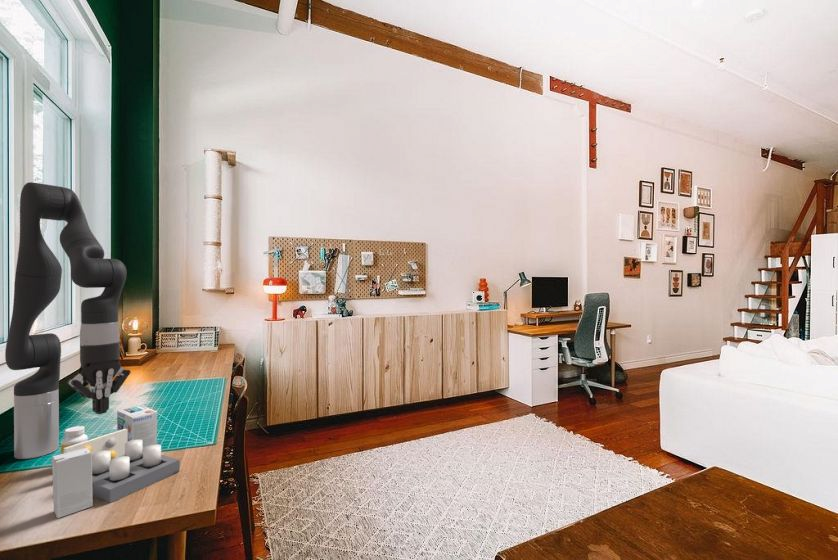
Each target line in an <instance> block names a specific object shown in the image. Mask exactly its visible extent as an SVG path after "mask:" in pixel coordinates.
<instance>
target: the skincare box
mask: <svg viewBox="0 0 838 560" xmlns="http://www.w3.org/2000/svg"><path fill="white" fill-rule="evenodd" d="M51 467H52V469H51V471H52V496H53V497H52V498H53V500H52V501H53V513H54V515H55V516H56V518H57V519H60V518H63V517H66V516H69V515H72V514H74V513H78V512H81V511H83V510H85V509H88V508H91V507H93V505H94V504H93V503H94V502H93V499H94V498H93V496H92V462H91V452H90V451H89V450H88V448H83V449H79V450H75V451H72V452H68V453H64V454H61V453H60V454H57V455H53V456H52V457H51Z"/></svg>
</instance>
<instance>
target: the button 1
mask: <svg viewBox="0 0 838 560" xmlns="http://www.w3.org/2000/svg"><path fill="white" fill-rule="evenodd" d="M110 461H111V451H100V452H96V453H94V454H92V455H91V462H92V474H99V473H103V472H106V471H108V470H109V462H110Z"/></svg>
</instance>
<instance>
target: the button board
mask: <svg viewBox="0 0 838 560" xmlns="http://www.w3.org/2000/svg"><path fill="white" fill-rule="evenodd" d="M122 456H125V455H122ZM122 456H119V457H122ZM111 460H112V459H111ZM180 463H181V460H180V459H178V458H174V457H171V456H168V455H163V454H161V463H159V464H157V465H155V466H150V467H145V466H143V456H142V457H141V458H139V459H137V460H133V461H130V475H129V476H128V477H126V478H124V479H121V480H115V481H112V480H110V479H109V470H108V471H106V472H103V473H99V474H92V497H94V498H95V499H99V500H102V501H104V502H106V503H109V504H112V503H114V502H116V501H118V500H120V499H123V498H124V497H125V498H126V497H127V496H129V495H131V494H133V493H137V492H138V491H141V490H142V489H143V490H144V489H145V488H146V487H149V486H151V485H153V484H155V483H158V482H160V481H162V480H164V479H167V478H168V477H169V478H170V477H172V476H174V475H175V474H178V473H180V470H181V469H180Z"/></svg>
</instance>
